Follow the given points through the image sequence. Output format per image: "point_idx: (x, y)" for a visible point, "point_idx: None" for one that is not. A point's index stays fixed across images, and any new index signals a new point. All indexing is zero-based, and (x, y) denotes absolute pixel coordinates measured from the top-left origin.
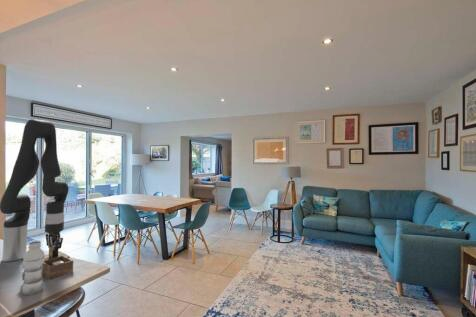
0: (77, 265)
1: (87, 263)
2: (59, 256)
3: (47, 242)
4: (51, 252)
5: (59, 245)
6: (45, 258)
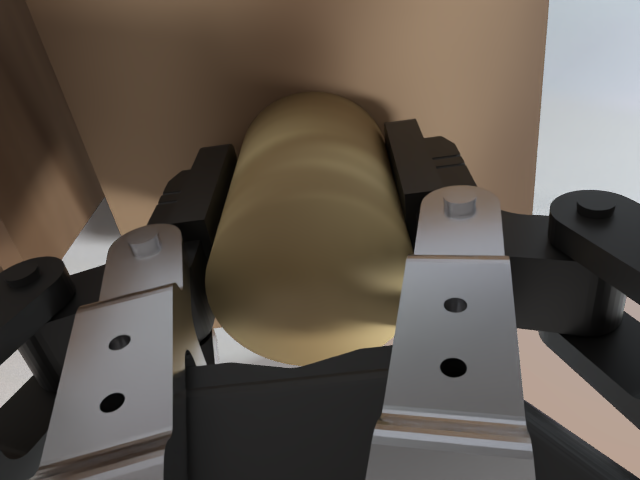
0: None
1: None
2: (4, 232)
3: (619, 258)
4: (243, 172)
5: (52, 408)
6: (320, 31)
